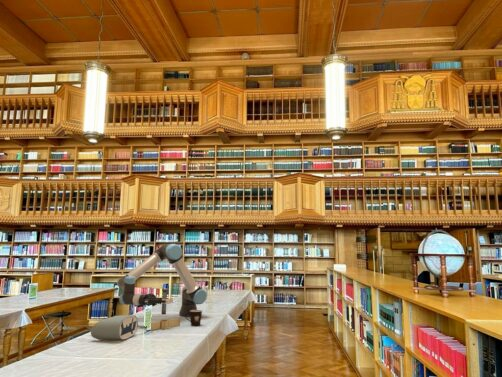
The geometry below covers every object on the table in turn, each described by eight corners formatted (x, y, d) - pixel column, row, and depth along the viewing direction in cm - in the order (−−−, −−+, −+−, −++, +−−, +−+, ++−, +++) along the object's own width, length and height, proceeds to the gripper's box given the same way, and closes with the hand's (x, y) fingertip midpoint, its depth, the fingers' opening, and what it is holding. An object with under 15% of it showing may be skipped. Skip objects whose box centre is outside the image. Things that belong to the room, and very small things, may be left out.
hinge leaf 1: (165, 326, 262) (165, 319, 263) (170, 327, 258) (170, 320, 259) (144, 330, 250) (144, 322, 251) (149, 331, 246) (149, 324, 247)
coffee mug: (202, 324, 272) (203, 309, 274) (200, 326, 264) (200, 311, 266) (187, 323, 274) (187, 309, 275) (183, 326, 265) (184, 311, 267)
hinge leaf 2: (177, 324, 269) (177, 317, 270) (182, 326, 265) (182, 318, 266) (157, 328, 258) (157, 320, 258) (162, 329, 253) (162, 321, 254)
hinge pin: (164, 313, 262) (165, 288, 265) (167, 314, 259) (168, 288, 262) (159, 314, 259) (160, 288, 262) (162, 314, 257) (164, 289, 259)
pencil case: (119, 343, 217) (119, 319, 219) (89, 342, 221) (90, 319, 223) (137, 334, 238) (138, 313, 240) (110, 334, 242) (111, 313, 244)
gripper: (146, 303, 272) (176, 305, 267) (134, 306, 257) (166, 308, 251) (146, 292, 273) (176, 294, 268) (135, 295, 258) (166, 297, 252)
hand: (171, 301), depth 259 cm, fingers closed on hinge pin, 3 cm apart
